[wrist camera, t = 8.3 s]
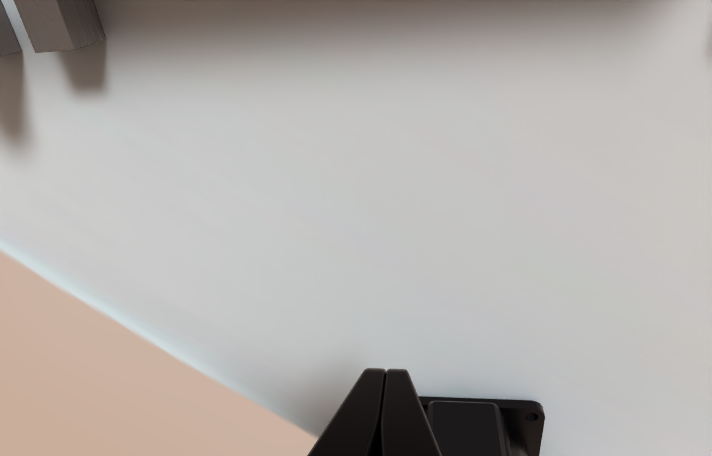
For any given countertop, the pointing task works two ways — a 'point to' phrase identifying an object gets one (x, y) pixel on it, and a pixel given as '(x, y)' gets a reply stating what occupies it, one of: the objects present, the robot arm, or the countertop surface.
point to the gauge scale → (7, 35)
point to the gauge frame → (60, 24)
